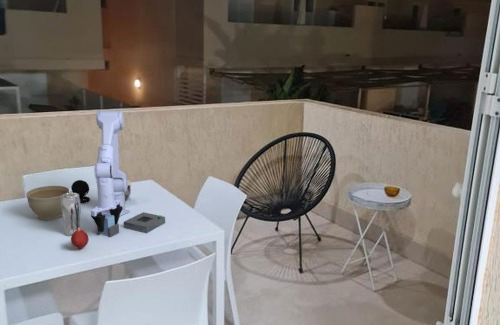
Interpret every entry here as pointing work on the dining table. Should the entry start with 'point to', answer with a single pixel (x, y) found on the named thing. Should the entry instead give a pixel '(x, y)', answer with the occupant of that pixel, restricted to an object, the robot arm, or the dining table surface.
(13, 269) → the dining table surface
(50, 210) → the planter bowl
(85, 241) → the red christmas ornament
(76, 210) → the beer glass
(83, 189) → the webcam
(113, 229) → the holster
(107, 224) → the plug
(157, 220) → the port block
